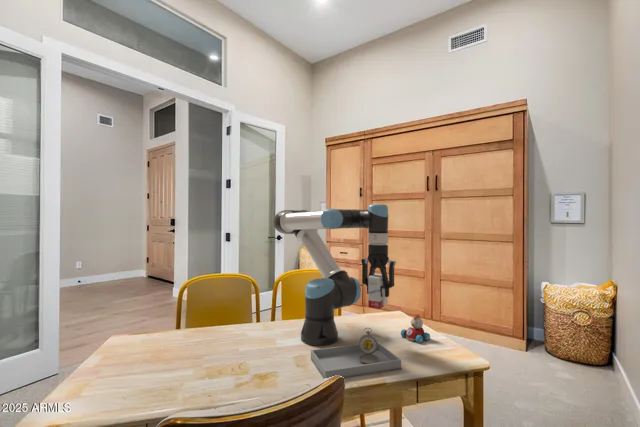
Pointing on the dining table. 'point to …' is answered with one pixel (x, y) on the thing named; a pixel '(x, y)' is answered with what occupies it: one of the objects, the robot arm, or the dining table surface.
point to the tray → (352, 361)
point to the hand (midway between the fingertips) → (377, 303)
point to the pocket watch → (365, 341)
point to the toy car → (416, 331)
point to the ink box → (375, 291)
